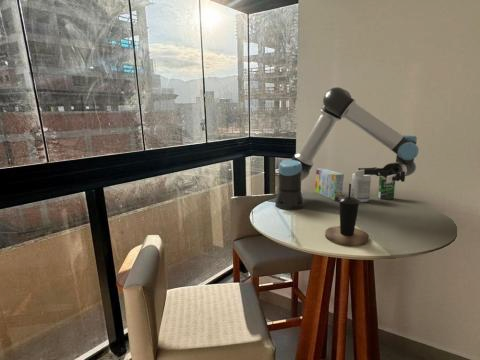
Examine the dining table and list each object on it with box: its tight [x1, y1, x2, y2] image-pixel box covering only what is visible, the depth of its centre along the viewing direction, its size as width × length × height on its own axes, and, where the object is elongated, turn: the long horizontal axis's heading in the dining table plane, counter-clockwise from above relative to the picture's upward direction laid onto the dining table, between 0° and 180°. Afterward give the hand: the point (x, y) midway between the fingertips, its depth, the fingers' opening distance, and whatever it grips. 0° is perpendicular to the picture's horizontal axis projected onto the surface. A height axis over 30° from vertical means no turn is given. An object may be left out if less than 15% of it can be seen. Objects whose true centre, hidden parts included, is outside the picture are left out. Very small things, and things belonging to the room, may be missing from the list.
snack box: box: [314, 167, 345, 202], centre depth 172 cm, size 21×6×15 cm, turn 17°
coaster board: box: [324, 225, 370, 247], centre depth 114 cm, size 16×16×2 cm
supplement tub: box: [350, 172, 372, 203], centre depth 162 cm, size 10×10×15 cm
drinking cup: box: [338, 183, 360, 236], centre depth 112 cm, size 8×8×20 cm
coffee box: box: [377, 176, 396, 200], centre depth 164 cm, size 8×3×13 cm, turn 92°
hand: (370, 176), depth 121 cm, fingers open, 13 cm apart
